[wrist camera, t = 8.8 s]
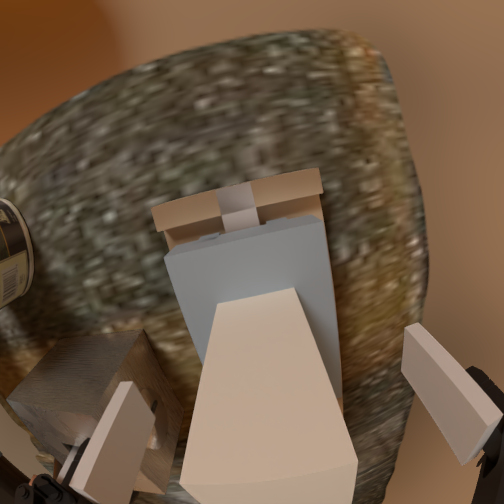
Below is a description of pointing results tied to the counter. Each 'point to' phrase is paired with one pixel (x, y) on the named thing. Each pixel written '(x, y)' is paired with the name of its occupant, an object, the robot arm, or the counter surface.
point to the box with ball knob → (99, 398)
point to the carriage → (264, 367)
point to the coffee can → (14, 254)
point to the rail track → (243, 210)
